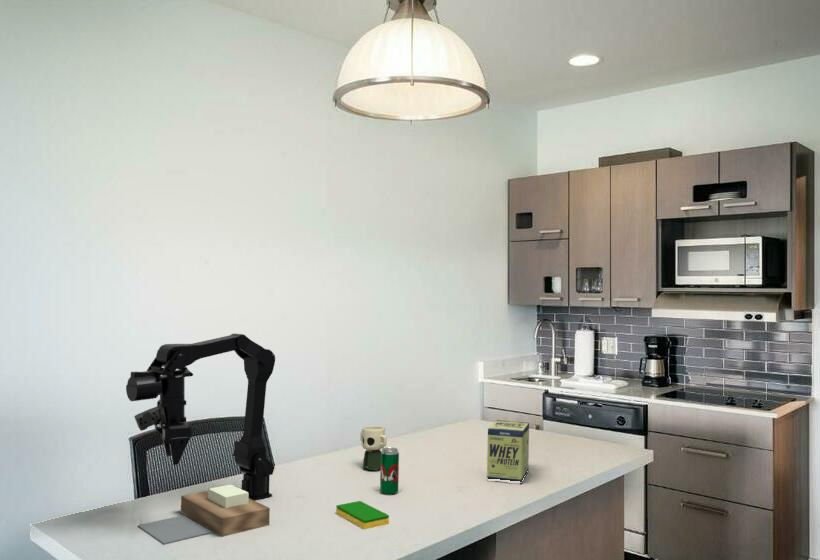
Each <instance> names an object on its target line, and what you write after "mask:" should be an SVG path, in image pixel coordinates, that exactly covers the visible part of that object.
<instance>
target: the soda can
mask: <svg viewBox="0 0 820 560" xmlns="http://www.w3.org/2000/svg"><path fill="white" fill-rule="evenodd" d="M399 463H400V452H399V451H398V448H397V447H391V446H390V447H384V448H382V449H381V467H380V472H379V473H380V474H379V475H380V476H379V477H380V478H379V479H380V480H379V481H380V483H379V491H380V492H381V494H383V495H386V494H392V495H395V493H396V494H397V493H398V492H399V485H400V484H399V481H400V480H399V479H400V478H399V477H400V476H399V475H400V474H399V473H400V464H399Z"/></svg>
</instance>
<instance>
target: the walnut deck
mask: <svg viewBox="0 0 820 560" xmlns="http://www.w3.org/2000/svg"><path fill="white" fill-rule="evenodd" d="M270 509H271V508H270V506H266V505H264V504H262V503H260V502H258V501H256V500H252V499H250V498H248V503H246V504H242V505H237V506H232V507H228V508H225V507H223V506H221V505H219V504H217V503H215V502H213V501H211V500H209V499H208V490H205V491H200V492H195V493H194V492H193V493H189V494H185V495H181V496H180V513H182V515H184V516H186V517H188V518H189V519H191V520H193V521H194V522H196V523H198V524H199V525H200V524H201V526H203V527H206V529H208V530H211V532H214V533H216V534H217V535H219V536H222V537H225V536H230V535H234V534H238V533H242V532H243V533H244V532H246V531H250V530H255V529H258V528H259V529H260V528H262V527H267V526H270V514H271V513H270V512H271V511H270Z"/></svg>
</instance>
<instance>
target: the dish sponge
mask: <svg viewBox="0 0 820 560" xmlns="http://www.w3.org/2000/svg"><path fill="white" fill-rule="evenodd" d="M335 512H336V513H335V514H336V515H338V516H340V517H342V518H344V519H346V520H347V521H349V522H351V523H353V524H354V525H356V526H358V527H360V528H361V529H363V530H367V529H371V528H376V527H380V526H386V525H389V524H390V518H389V517H390V515H389V514H387V513H385V512H383V511H381V510H379V509H377V508H375V507H373V506H372V505H369V504H367V503H365V502H364V501H361V500H359V501H358V500H357V501H353V502H347V503H341V504H336V508H335Z"/></svg>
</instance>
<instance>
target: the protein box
mask: <svg viewBox="0 0 820 560" xmlns="http://www.w3.org/2000/svg"><path fill="white" fill-rule="evenodd" d="M529 441H530V422H524V421H511V420H503V419H502V420H500V419H497V420H496V421H495V422H494V423H492V424H491V425H490V427H489V428H487V452H486V453H487V455H486V456H487V457H486V459H487V460H486V462H487V463H486V464H487V466H486V471H487V472H486V479H487V478H488V479H500V480H510V481H520V482H522V480H523V478H524V476H525V475H526V473H527V471H528V472H529V462H530V461H529V459H530V458H529V455H530V452H529V451H530V449H529V448H530V446H529V445H530V443H529ZM527 474H528V473H527ZM526 476H527V475H526ZM523 481H524V480H523ZM522 483H523V482H522Z"/></svg>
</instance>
